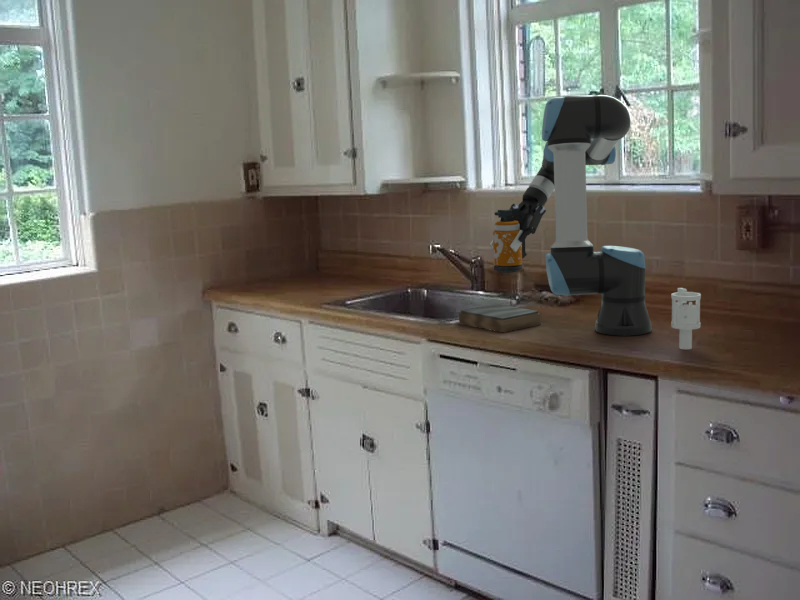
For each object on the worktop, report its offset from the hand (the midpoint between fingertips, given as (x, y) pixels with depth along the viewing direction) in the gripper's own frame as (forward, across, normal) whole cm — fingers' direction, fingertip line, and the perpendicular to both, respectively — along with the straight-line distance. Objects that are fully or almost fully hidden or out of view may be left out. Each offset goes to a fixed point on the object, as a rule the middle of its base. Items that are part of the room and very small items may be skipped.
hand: (502, 247), depth 292 cm
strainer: (+18, -73, -10) cm, 76 cm away
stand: (+26, -16, -2) cm, 30 cm away
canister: (+3, 0, -8) cm, 9 cm away
